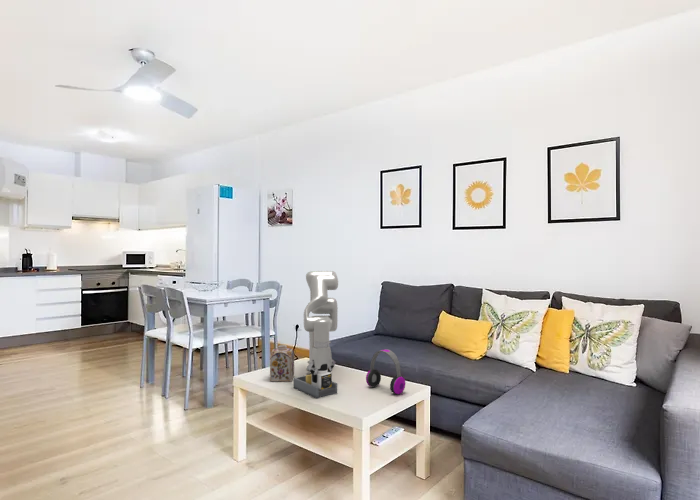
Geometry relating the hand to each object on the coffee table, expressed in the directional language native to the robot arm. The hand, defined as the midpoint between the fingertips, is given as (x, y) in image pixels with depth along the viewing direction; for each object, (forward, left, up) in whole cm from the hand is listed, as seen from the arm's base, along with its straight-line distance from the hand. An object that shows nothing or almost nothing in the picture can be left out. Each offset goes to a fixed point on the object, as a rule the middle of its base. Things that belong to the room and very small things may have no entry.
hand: (321, 380), depth 209 cm
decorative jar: (-34, -2, -7) cm, 35 cm away
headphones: (+16, +28, -7) cm, 33 cm away
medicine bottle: (0, 0, -4) cm, 4 cm away
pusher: (-8, 0, -5) cm, 10 cm away
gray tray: (-6, 0, -6) cm, 8 cm away
